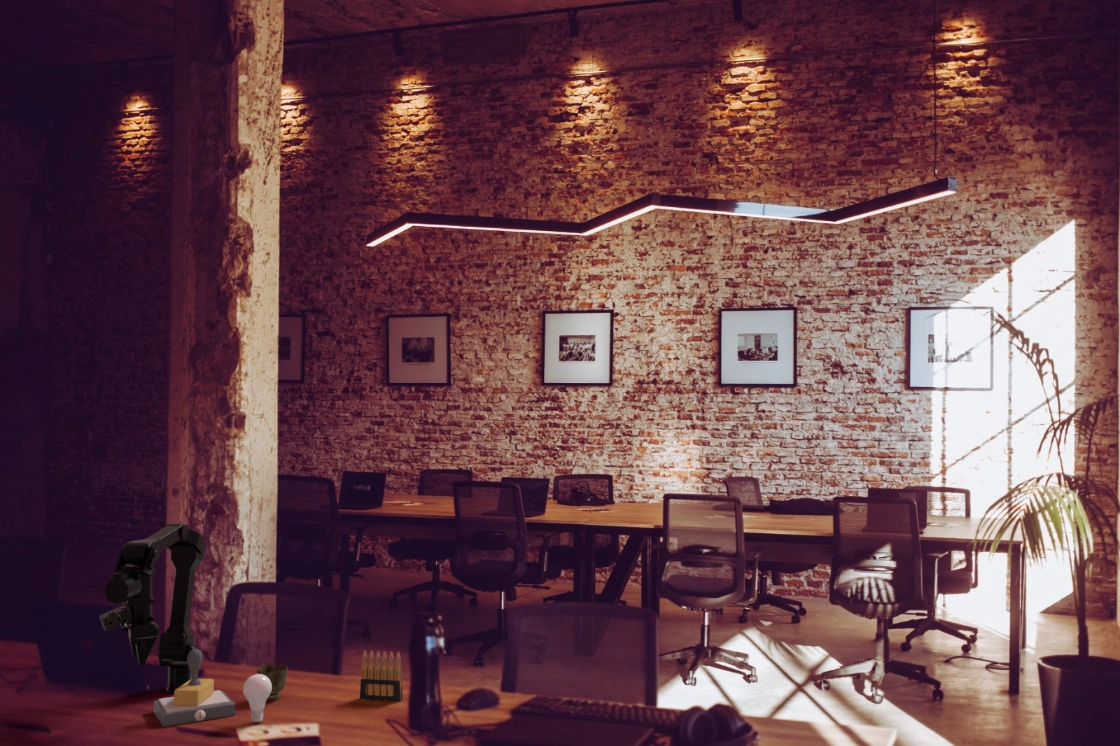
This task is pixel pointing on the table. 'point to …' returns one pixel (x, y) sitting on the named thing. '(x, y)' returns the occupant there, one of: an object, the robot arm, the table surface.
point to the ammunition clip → (381, 678)
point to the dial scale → (194, 710)
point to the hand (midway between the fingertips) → (138, 660)
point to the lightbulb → (257, 695)
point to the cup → (275, 678)
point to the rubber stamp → (194, 684)
